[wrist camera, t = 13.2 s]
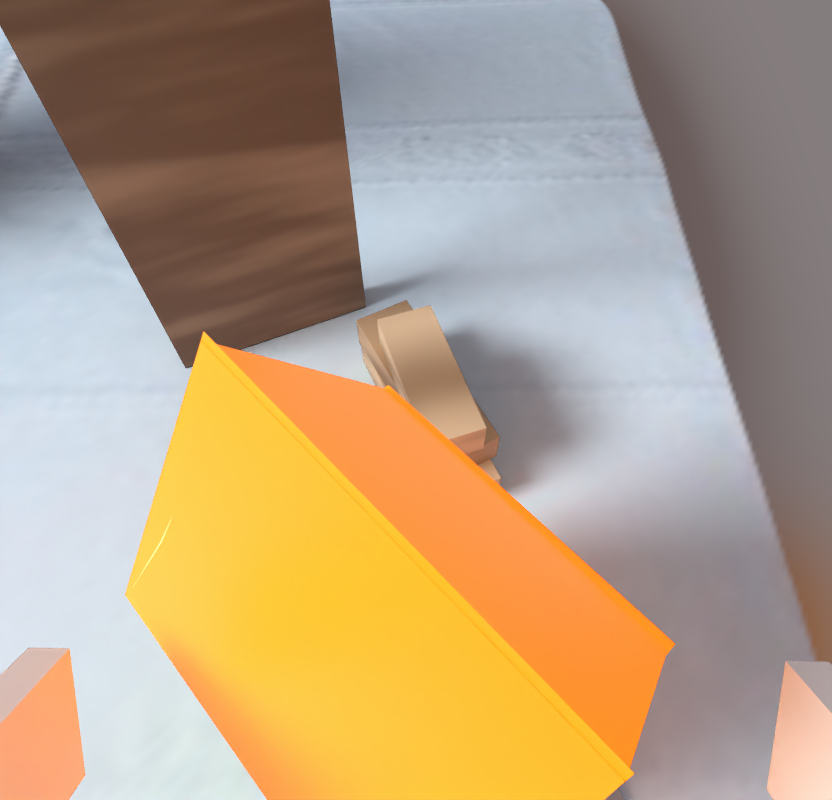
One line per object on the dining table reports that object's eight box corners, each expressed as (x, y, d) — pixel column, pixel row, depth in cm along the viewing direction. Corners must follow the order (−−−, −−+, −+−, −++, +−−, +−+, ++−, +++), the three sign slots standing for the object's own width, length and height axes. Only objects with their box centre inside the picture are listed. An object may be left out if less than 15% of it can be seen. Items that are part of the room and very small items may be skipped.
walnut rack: (166, 303, 38) (-136, -287, 17) (363, 241, 40) (300, -338, 20) (254, 596, 29) (-163, 72, 8) (503, 492, 31) (649, -106, 11)
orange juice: (405, 563, 29) (377, 214, 12) (558, 724, 25) (823, 549, 8) (262, 694, 26) (-39, 479, 9) (412, 895, 23) (373, 1148, 6)
